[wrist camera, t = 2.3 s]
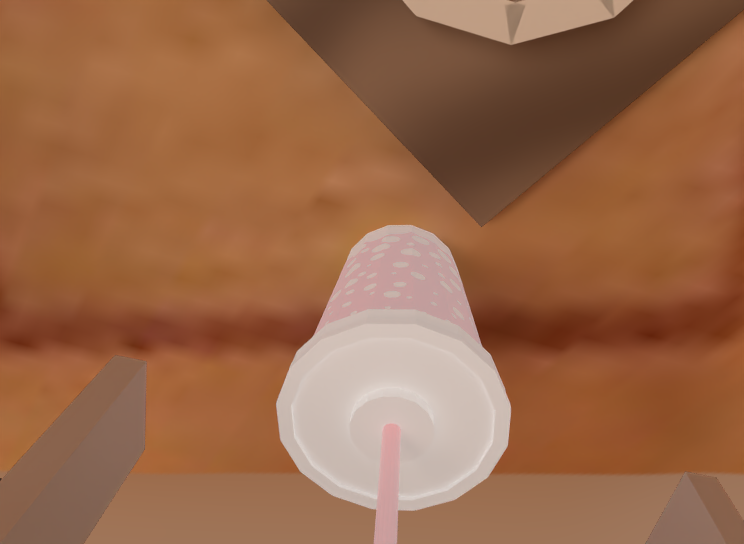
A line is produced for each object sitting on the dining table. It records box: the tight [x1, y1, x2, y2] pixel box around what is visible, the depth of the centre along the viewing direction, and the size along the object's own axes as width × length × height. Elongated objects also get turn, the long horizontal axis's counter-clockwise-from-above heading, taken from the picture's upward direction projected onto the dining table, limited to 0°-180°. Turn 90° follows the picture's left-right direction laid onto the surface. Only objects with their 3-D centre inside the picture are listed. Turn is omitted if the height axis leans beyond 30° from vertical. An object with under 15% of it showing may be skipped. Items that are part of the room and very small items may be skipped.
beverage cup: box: [276, 225, 511, 544], centre depth 17 cm, size 6×6×14 cm
